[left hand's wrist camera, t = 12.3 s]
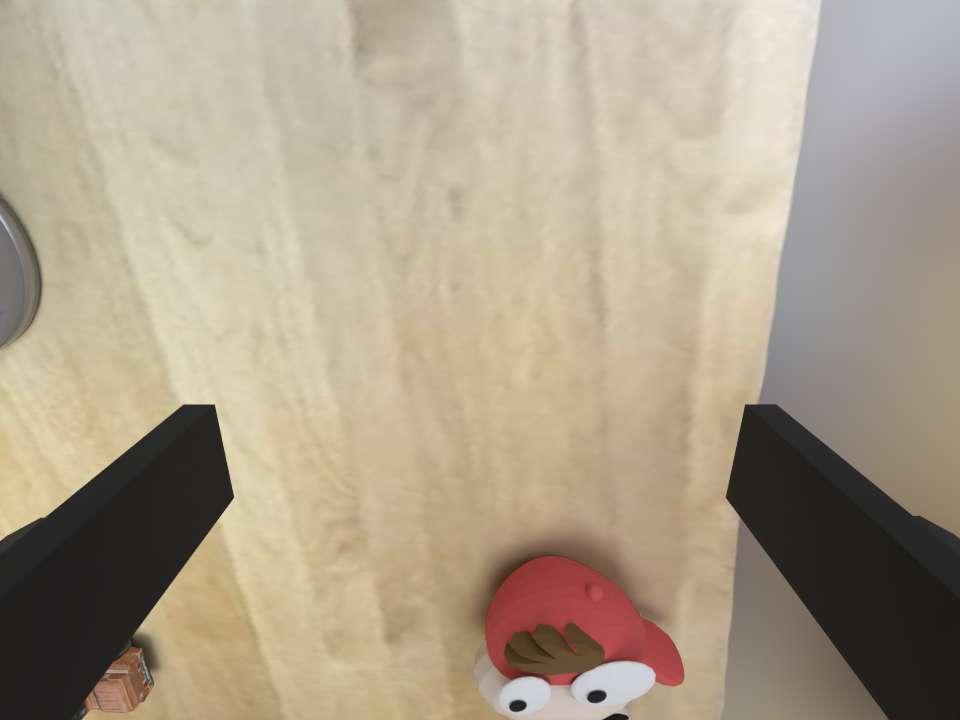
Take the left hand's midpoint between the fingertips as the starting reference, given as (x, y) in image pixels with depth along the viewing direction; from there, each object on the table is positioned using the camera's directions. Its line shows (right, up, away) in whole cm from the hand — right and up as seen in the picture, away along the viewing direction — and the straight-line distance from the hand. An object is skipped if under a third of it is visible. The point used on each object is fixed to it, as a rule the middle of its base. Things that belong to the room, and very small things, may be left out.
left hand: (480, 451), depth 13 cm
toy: (+9, -27, +37) cm, 47 cm away
